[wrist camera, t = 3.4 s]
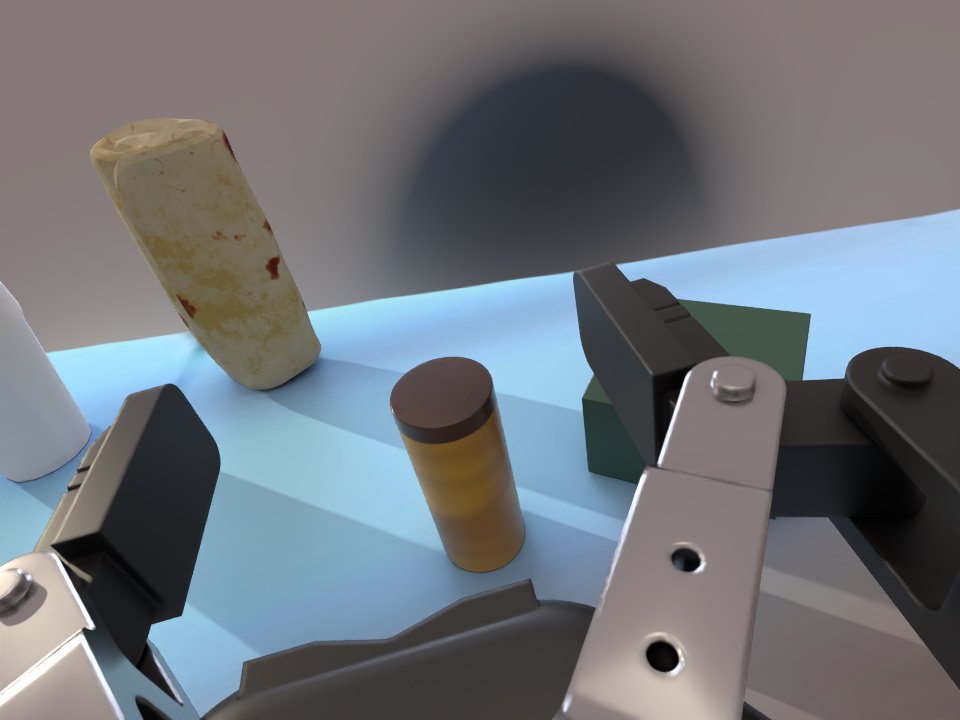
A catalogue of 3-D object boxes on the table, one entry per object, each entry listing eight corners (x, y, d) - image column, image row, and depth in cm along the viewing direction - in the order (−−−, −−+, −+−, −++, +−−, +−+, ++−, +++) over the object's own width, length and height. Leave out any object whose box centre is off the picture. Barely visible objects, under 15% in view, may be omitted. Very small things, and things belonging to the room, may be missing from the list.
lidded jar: (503, 584, 29) (461, 439, 23) (428, 556, 32) (369, 414, 25) (537, 513, 32) (509, 365, 26) (466, 491, 35) (423, 349, 28)
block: (775, 520, 30) (794, 440, 26) (588, 471, 34) (581, 398, 30) (793, 391, 36) (811, 313, 32) (634, 364, 40) (633, 293, 37)
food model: (337, 339, 50) (235, 96, 37) (315, 391, 45) (189, 130, 32) (233, 350, 51) (102, 121, 39) (201, 402, 46) (38, 157, 34)
